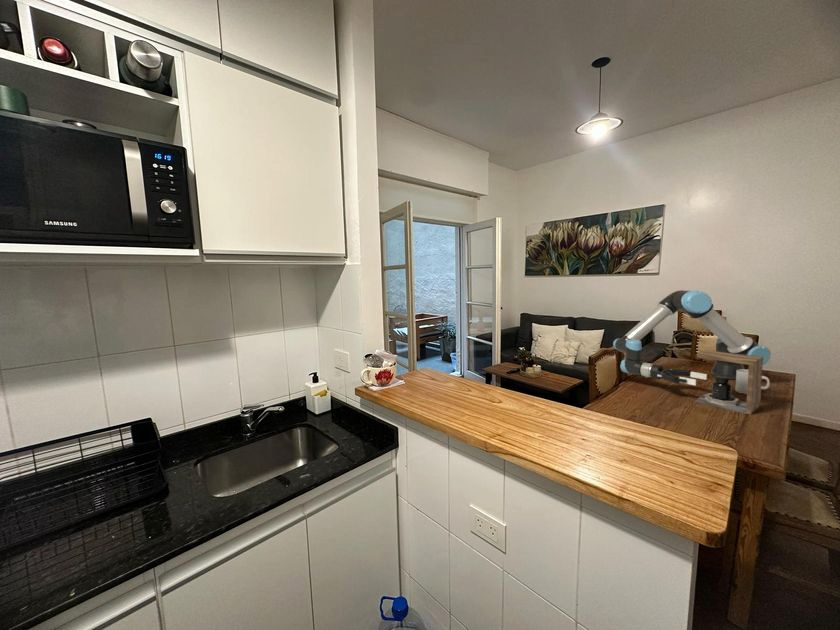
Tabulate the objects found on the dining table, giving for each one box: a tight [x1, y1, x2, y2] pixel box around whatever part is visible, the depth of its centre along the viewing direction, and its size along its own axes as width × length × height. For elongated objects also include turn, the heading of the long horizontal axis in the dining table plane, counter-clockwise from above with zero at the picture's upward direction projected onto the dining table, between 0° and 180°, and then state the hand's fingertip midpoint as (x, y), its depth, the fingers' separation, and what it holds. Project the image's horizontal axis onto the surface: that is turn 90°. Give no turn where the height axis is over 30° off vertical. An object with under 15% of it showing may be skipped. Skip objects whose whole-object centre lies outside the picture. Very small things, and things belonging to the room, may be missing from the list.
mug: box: [735, 368, 771, 395], centre depth 165 cm, size 12×8×11 cm
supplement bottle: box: [711, 376, 733, 401], centre depth 154 cm, size 7×7×12 cm
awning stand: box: [694, 349, 764, 415], centre depth 152 cm, size 13×20×24 cm, turn 32°
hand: (701, 379), depth 160 cm, fingers open, 13 cm apart
